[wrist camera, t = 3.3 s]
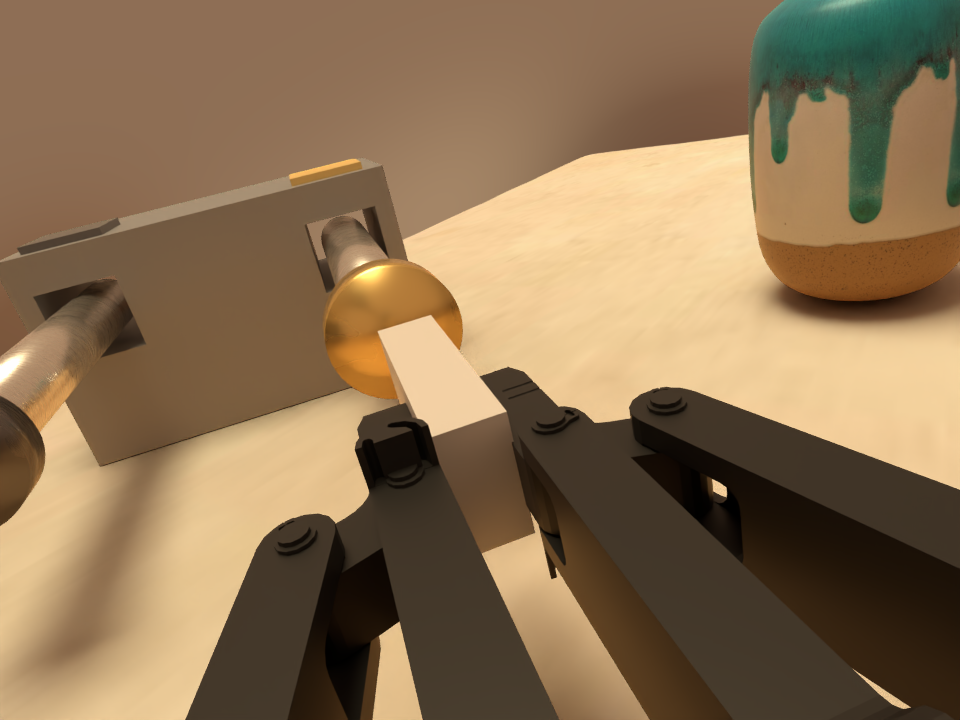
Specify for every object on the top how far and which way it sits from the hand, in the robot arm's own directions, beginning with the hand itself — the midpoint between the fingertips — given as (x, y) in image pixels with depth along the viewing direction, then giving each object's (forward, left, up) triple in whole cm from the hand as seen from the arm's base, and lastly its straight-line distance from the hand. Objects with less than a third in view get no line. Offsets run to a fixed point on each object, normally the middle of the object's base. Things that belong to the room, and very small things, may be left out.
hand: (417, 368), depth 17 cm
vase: (+26, +11, -8) cm, 30 cm away
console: (-7, +25, -8) cm, 28 cm away
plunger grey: (-14, +14, -3) cm, 20 cm away
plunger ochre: (0, +14, -3) cm, 15 cm away
